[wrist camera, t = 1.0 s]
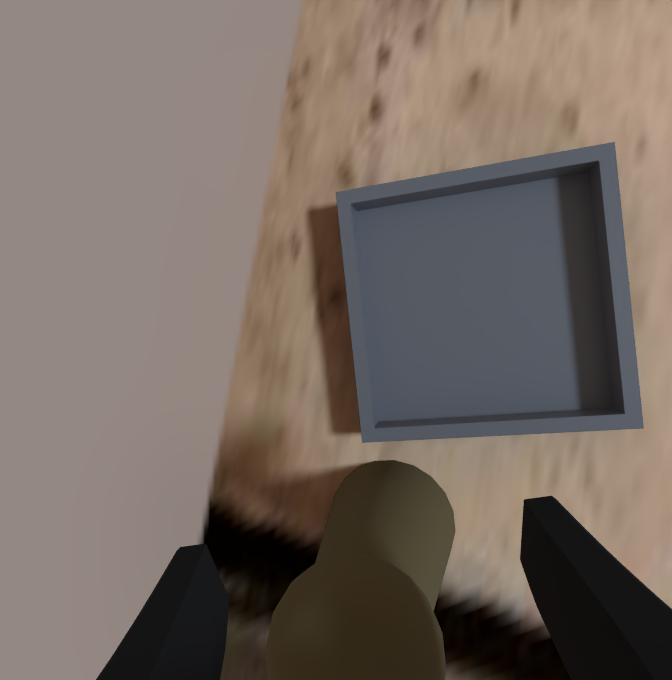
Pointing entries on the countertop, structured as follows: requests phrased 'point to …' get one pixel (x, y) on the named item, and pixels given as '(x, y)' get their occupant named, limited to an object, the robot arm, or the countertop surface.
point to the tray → (492, 300)
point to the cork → (370, 584)
